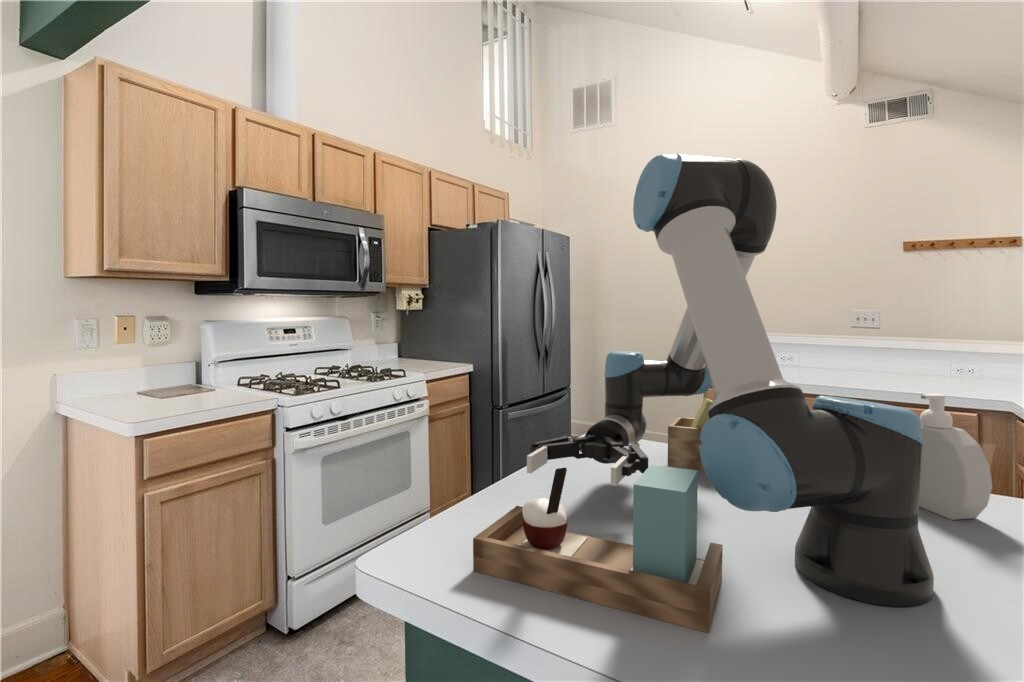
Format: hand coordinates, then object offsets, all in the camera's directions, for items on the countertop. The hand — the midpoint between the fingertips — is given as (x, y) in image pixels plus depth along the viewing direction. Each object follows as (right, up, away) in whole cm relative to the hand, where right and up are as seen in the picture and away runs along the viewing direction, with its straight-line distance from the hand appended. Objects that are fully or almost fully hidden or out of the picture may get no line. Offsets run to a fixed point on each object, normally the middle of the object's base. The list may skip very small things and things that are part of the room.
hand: (569, 470), depth 80 cm
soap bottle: (+65, -10, +13) cm, 67 cm away
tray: (+2, -11, -10) cm, 15 cm away
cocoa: (-4, -9, -6) cm, 12 cm away
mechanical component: (+40, -8, +37) cm, 55 cm away
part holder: (+40, -8, +37) cm, 55 cm away
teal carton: (+11, -9, -14) cm, 20 cm away
